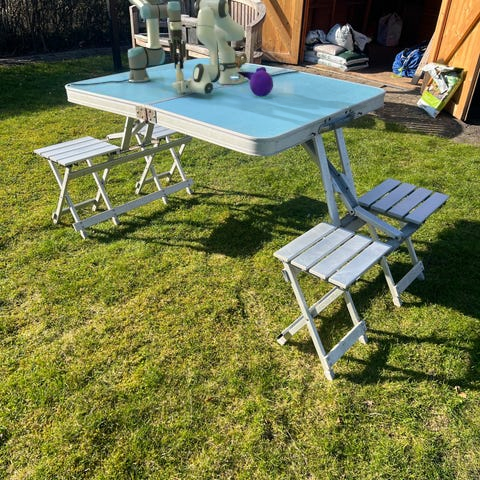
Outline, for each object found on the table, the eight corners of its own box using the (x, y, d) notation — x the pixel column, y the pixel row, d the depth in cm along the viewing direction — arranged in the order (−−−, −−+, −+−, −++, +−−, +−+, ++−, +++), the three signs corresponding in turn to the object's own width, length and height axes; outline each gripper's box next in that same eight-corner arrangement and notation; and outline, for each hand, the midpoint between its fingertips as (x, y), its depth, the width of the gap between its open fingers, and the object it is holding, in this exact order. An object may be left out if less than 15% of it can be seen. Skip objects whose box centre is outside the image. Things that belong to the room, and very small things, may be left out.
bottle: (184, 91, 304) (182, 64, 296) (185, 93, 300) (182, 65, 291) (177, 92, 304) (175, 64, 295) (177, 93, 300) (175, 66, 291)
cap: (175, 68, 295) (175, 64, 294) (181, 67, 296) (181, 63, 295) (176, 68, 292) (176, 65, 291) (182, 68, 293) (182, 64, 292)
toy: (257, 88, 307) (273, 101, 287) (234, 84, 300) (248, 97, 279) (264, 65, 299) (280, 76, 279) (240, 59, 292) (255, 71, 271)
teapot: (227, 72, 361) (226, 52, 354) (220, 70, 370) (219, 51, 362) (250, 70, 371) (249, 50, 363) (242, 68, 379) (242, 48, 372)
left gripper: (161, 29, 284) (165, 68, 295) (182, 30, 276) (185, 70, 287) (169, 28, 289) (173, 66, 301) (190, 29, 281) (192, 68, 293)
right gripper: (204, 77, 295) (191, 75, 304) (180, 82, 283) (166, 79, 291) (205, 87, 299) (191, 84, 307) (181, 92, 286) (167, 89, 295)
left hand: (179, 68), depth 294 cm, fingers closed on cap, 4 cm apart
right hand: (179, 82), depth 299 cm, fingers closed on bottle, 5 cm apart
